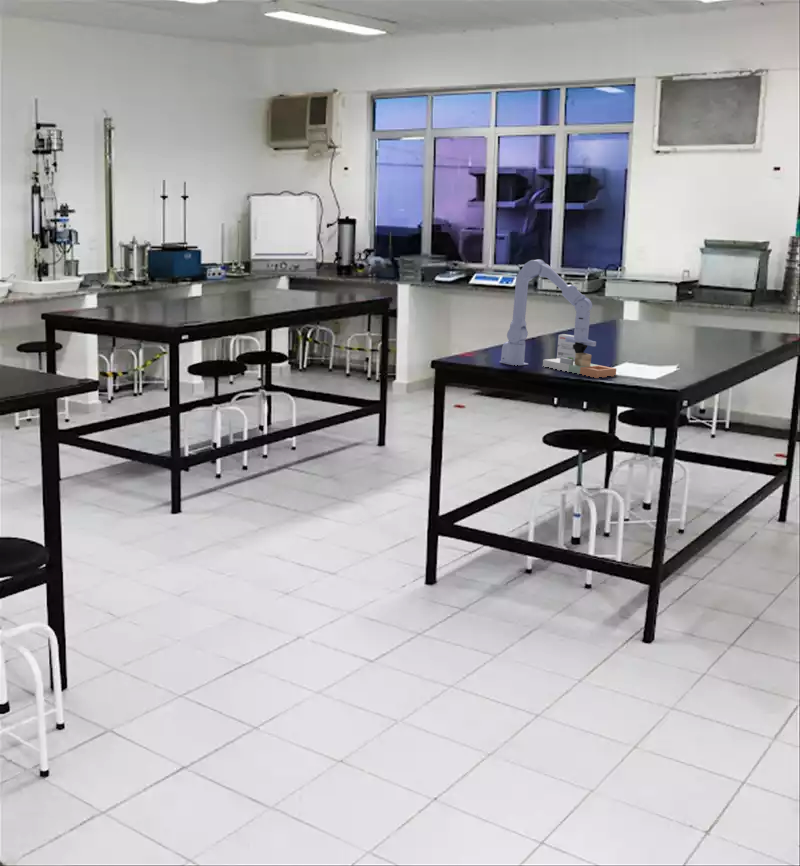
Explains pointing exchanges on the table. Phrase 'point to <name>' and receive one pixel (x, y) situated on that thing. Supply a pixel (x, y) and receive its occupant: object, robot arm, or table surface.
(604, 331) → the table surface
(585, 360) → the maple block
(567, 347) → the ink box
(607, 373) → the channel deck
